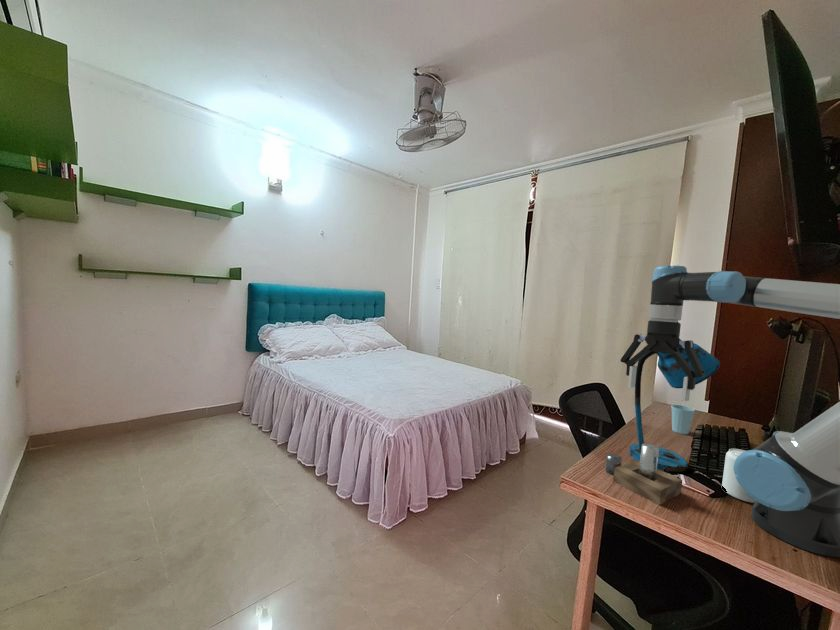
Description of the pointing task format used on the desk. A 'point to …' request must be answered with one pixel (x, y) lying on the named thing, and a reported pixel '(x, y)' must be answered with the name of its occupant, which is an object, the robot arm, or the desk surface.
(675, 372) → the desk lamp
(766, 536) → the desk surface
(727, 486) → the beverage can
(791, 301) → the robot arm
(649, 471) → the tall pin
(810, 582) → the desk surface
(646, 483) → the tan square frame
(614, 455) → the stub pin
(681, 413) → the cup
